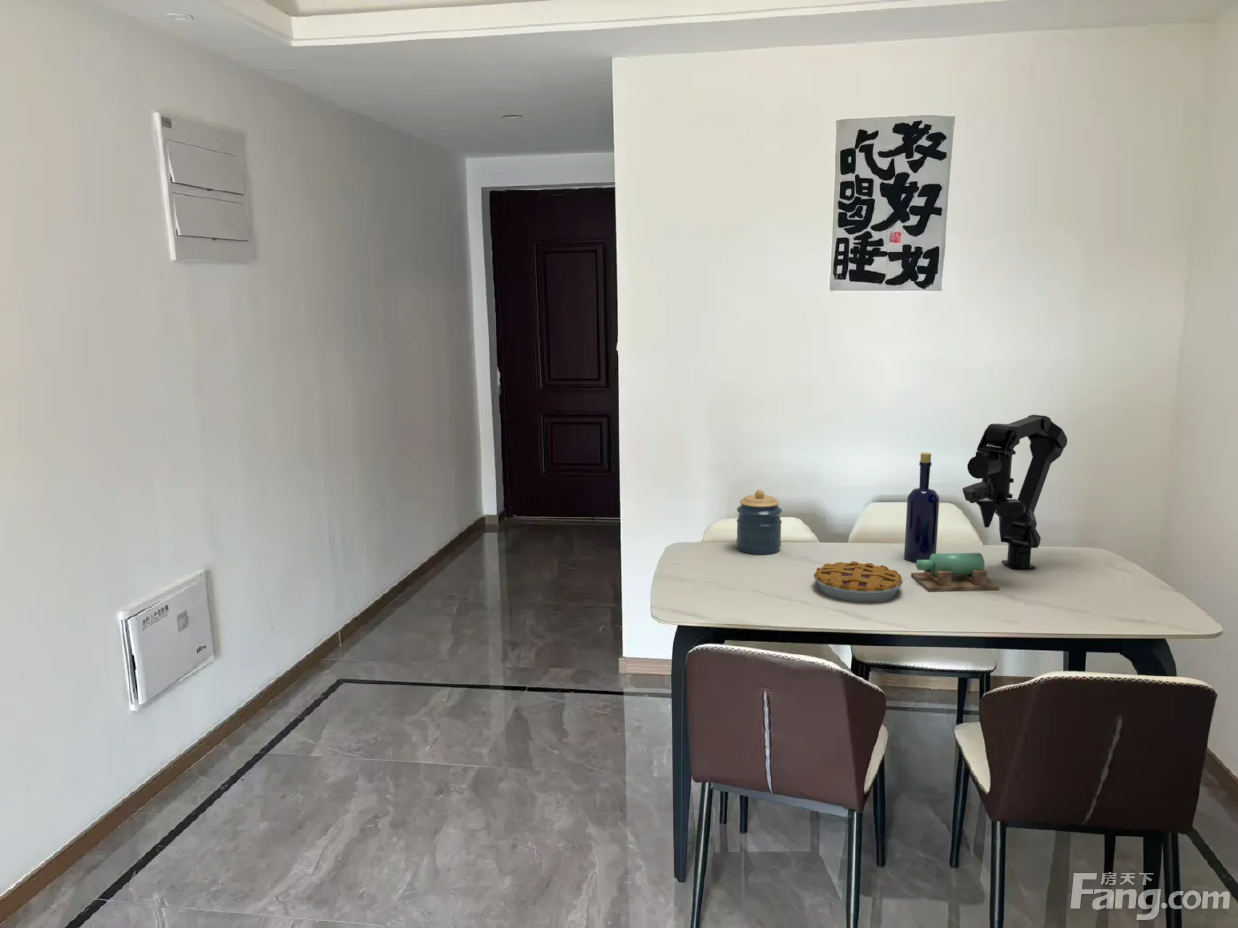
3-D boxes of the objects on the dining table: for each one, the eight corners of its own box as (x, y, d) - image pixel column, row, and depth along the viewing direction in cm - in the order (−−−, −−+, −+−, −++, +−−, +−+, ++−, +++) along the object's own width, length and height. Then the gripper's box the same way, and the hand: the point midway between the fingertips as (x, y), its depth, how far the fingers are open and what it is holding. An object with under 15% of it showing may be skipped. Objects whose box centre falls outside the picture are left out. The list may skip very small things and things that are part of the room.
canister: (787, 546, 261) (789, 488, 258) (770, 557, 250) (772, 496, 247) (747, 540, 268) (748, 483, 265) (728, 550, 257) (729, 491, 254)
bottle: (942, 563, 243) (948, 456, 238) (908, 563, 244) (914, 456, 238) (931, 554, 252) (937, 450, 247) (898, 554, 253) (904, 450, 247)
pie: (900, 579, 231) (901, 561, 230) (904, 608, 210) (905, 588, 210) (815, 573, 237) (815, 555, 236) (810, 600, 216) (811, 581, 215)
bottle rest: (928, 591, 221) (929, 574, 220) (911, 576, 233) (912, 559, 232) (999, 589, 222) (1000, 572, 221) (978, 574, 234) (979, 558, 233)
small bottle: (975, 573, 230) (974, 552, 230) (984, 575, 224) (984, 553, 225) (914, 574, 230) (913, 553, 230) (922, 576, 224) (921, 554, 224)
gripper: (953, 466, 236) (949, 523, 239) (983, 481, 218) (979, 542, 221) (994, 465, 237) (990, 522, 240) (1028, 480, 218) (1023, 541, 221)
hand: (994, 531), depth 230 cm, fingers open, 9 cm apart
